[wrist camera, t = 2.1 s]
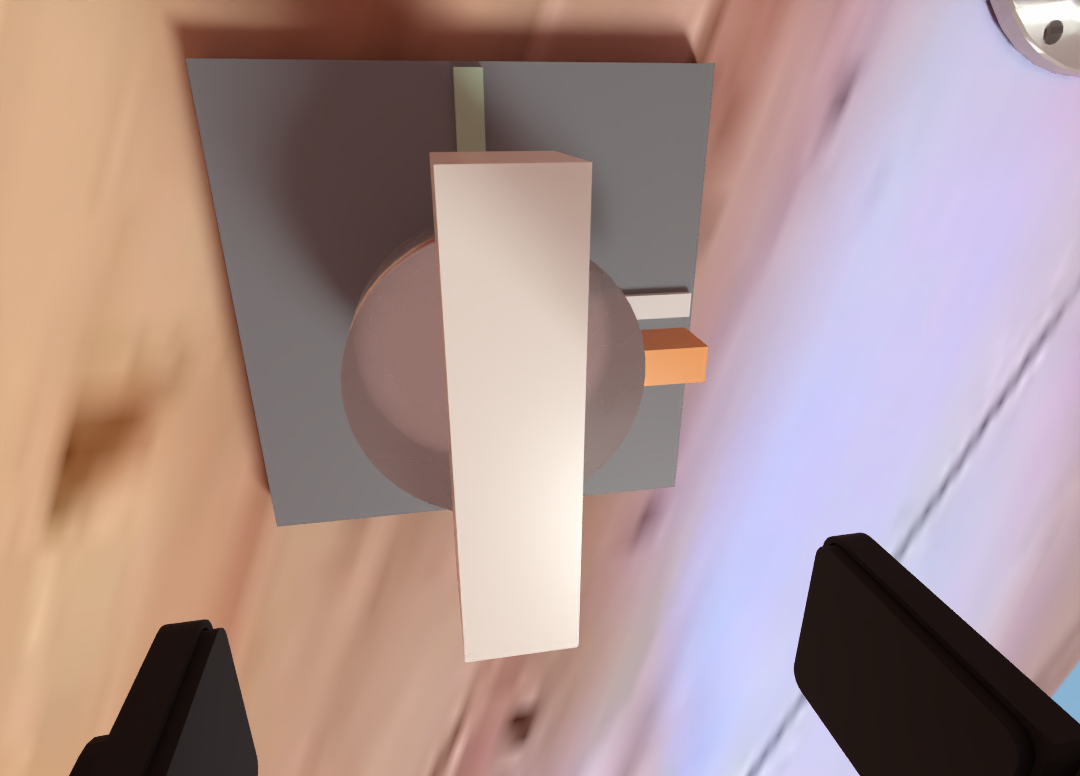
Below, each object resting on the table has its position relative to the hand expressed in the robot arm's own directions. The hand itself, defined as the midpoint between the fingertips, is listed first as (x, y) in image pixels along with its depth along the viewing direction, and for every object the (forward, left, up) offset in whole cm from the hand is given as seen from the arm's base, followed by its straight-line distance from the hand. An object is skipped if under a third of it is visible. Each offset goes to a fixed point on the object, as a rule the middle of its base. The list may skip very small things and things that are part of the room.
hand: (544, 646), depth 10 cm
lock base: (0, 0, -19) cm, 19 cm away
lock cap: (-2, 0, -13) cm, 13 cm away
